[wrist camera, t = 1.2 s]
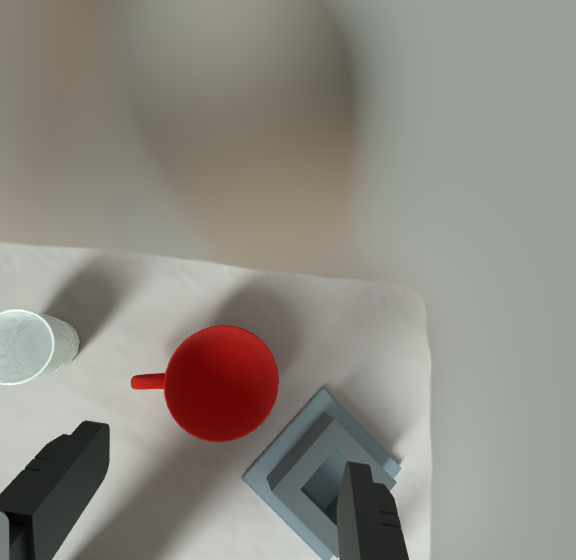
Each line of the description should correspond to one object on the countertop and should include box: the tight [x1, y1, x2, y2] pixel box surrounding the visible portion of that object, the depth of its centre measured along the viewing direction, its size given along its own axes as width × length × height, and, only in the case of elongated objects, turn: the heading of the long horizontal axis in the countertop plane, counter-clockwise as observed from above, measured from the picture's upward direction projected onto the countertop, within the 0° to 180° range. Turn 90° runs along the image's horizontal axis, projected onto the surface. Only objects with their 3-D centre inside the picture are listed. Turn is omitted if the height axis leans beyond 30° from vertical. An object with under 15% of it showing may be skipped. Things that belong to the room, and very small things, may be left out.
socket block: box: [242, 388, 401, 560], centre depth 52 cm, size 16×16×6 cm
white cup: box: [0, 309, 80, 385], centre depth 46 cm, size 8×8×10 cm
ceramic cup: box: [131, 325, 279, 442], centre depth 49 cm, size 13×17×10 cm
